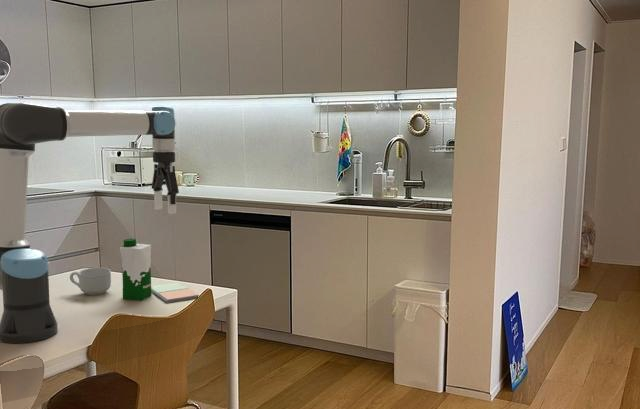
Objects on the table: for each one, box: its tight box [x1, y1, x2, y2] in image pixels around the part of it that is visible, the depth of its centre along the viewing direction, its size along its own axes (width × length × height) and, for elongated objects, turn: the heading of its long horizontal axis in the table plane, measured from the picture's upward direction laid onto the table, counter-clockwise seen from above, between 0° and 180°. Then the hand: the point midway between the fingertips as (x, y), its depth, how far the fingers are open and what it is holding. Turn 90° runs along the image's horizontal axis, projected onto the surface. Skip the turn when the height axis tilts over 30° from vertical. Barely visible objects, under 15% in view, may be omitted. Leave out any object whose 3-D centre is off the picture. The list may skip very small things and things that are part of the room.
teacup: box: [69, 267, 112, 296], centre depth 212 cm, size 14×11×8 cm
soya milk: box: [119, 238, 152, 301], centre depth 206 cm, size 9×9×20 cm
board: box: [151, 282, 200, 304], centre depth 212 cm, size 12×20×1 cm, turn 34°
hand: (165, 211), depth 213 cm, fingers open, 13 cm apart
